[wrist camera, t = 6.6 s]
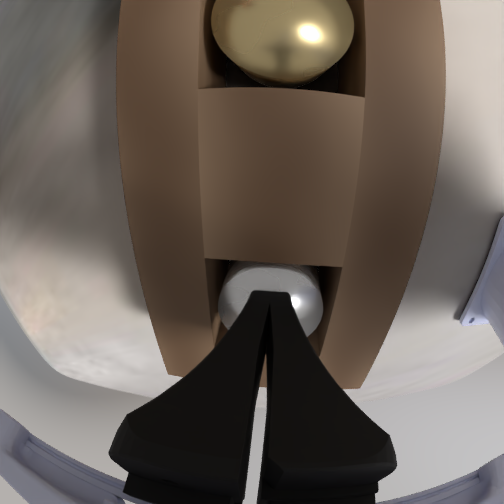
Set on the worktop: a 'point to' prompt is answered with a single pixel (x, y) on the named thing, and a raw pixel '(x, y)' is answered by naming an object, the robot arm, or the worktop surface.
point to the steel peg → (272, 289)
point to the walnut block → (278, 173)
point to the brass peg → (283, 37)
